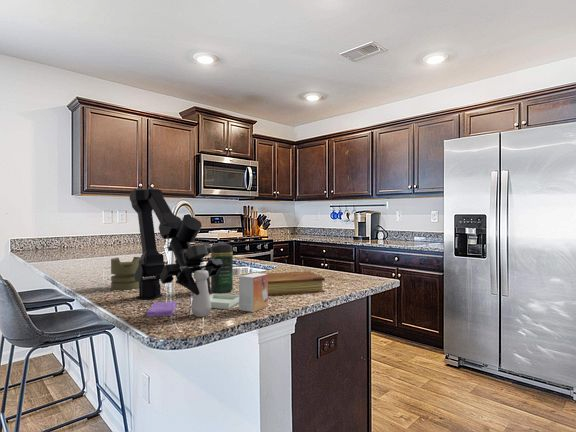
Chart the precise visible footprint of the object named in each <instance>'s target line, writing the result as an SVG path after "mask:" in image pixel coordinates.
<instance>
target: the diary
mask: <svg viewBox="0 0 576 432" xmlns="http://www.w3.org/2000/svg"><path fill="white" fill-rule="evenodd" d="M264 274H268V296H278V295H280V296H281V295H282V294H283V295H295V294H310V293H312V294H313V293H325V289H323V281H326V279H325V277H322V276H320V275H318V274H317V273H314V272H312V271H309V270H308V271H306V270H305V271H290V272H289V271H287V272H271V273H269V272H268V273H264Z"/></svg>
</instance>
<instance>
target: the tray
mask: <svg viewBox="0 0 576 432" xmlns="http://www.w3.org/2000/svg"><path fill="white" fill-rule="evenodd" d="M209 295H210V301H211V309H221V310H230V309H232V308H234V307H235V306H237V305H239V294H229V293H225V294H224V293H211V294H209Z"/></svg>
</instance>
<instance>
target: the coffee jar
mask: <svg viewBox="0 0 576 432" xmlns="http://www.w3.org/2000/svg"><path fill="white" fill-rule="evenodd" d="M210 246H211V248H212V252H211V253H210V257H211V258H210V260H213V259H221V261H222V263H223V266H222V268H221V269H220V271H219V273H218V274H217V275H216V276H212V277H210V278H211V280H210V290H212V291H211V292H214V293H220V294H224V293H225V294H226V293H228V292H232V291H233V289H234V287H233V286H234V284H233V283H234V280H233V278H234V277H233V276H234V275H233V271H234V269H233V267H234V265H233V263H234V262H233V260H234V257H233V255H234V254H233V252H234V251H233V246H232V245H231V244H229V243H225V242H215V243H214V244H212V245H210Z"/></svg>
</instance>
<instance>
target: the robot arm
mask: <svg viewBox="0 0 576 432" xmlns="http://www.w3.org/2000/svg"><path fill="white" fill-rule="evenodd" d="M129 201H130V203H131V207H132V209H133V211H135V212H136V213H137V219H138V229H139V235H140V242H141V250H142V254H141V255H140V256H139V257H140V259H139V266H138V268H137V270H136V272H135V274H134V276H135V281H138V282H139V289H138V293H139V294H138V296H136V299H141V300H153V299H156V298H159V297H161V296H163V293H161V284H163V285H164V284H171V283H172V282H173V281H174V276H175V277H176V281H175V284H177V285H180V286H182V287H185V288H186V289H188V291H190V292H191V293H192V294H193V293H194V294H196V295H199V290H198V288H197V285H196V283H195V282H196V280H195V279H194V276H193V275H194V272H195V271H198V270H206V271H208V274H209V277H208V278H207V284H208V291H209V294H210V293H211V292H212V291H211V290H212V289H211V280H210V278H211V277H212V276H216V275H217V274H218V273H219V271H220V269H221V268H222V266H223V263H222V261H221V259H213V260H211V259H208V261H207V262H206V264H202V263H204V260H205V259H204V258H205V257H207V256H209V255H211V252H212V248H211V246H212V245H210V243H209V242H204V243H203V244H194V245H191V243H192V242H194V241H195V240H196V238H197V236H198V234H199V232H200V231H201V229H202V222H201V221H200V220H198V219H197V218H195V217H193V216H191V214H184V215H183V216H182V217H183V218H182V219H181V218H180V217H179V216H177V215H175V214H174V213H173V211H172V209H171V208H170V206H169V205H168V203H167V201H166V199H165V198H164V196H163V191H162V189H160V188H146V189H145V188H134V189H133V190H132V191H130V193H129ZM153 213H154V214H155V216H156V218H157V219H158V222H159V225H158V231H159V235H160V236H161V238H162V239H163V240H170V239H171V240H170V241H169V245H168V249H167V251H168V252H172V253H173V255H174V256H175V261H174V263H169V264H165V260H164V255H163V253H160V252H159V251H158V249H157V241H156V234H155V225H154V219H153ZM160 281H161V282H160Z"/></svg>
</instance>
